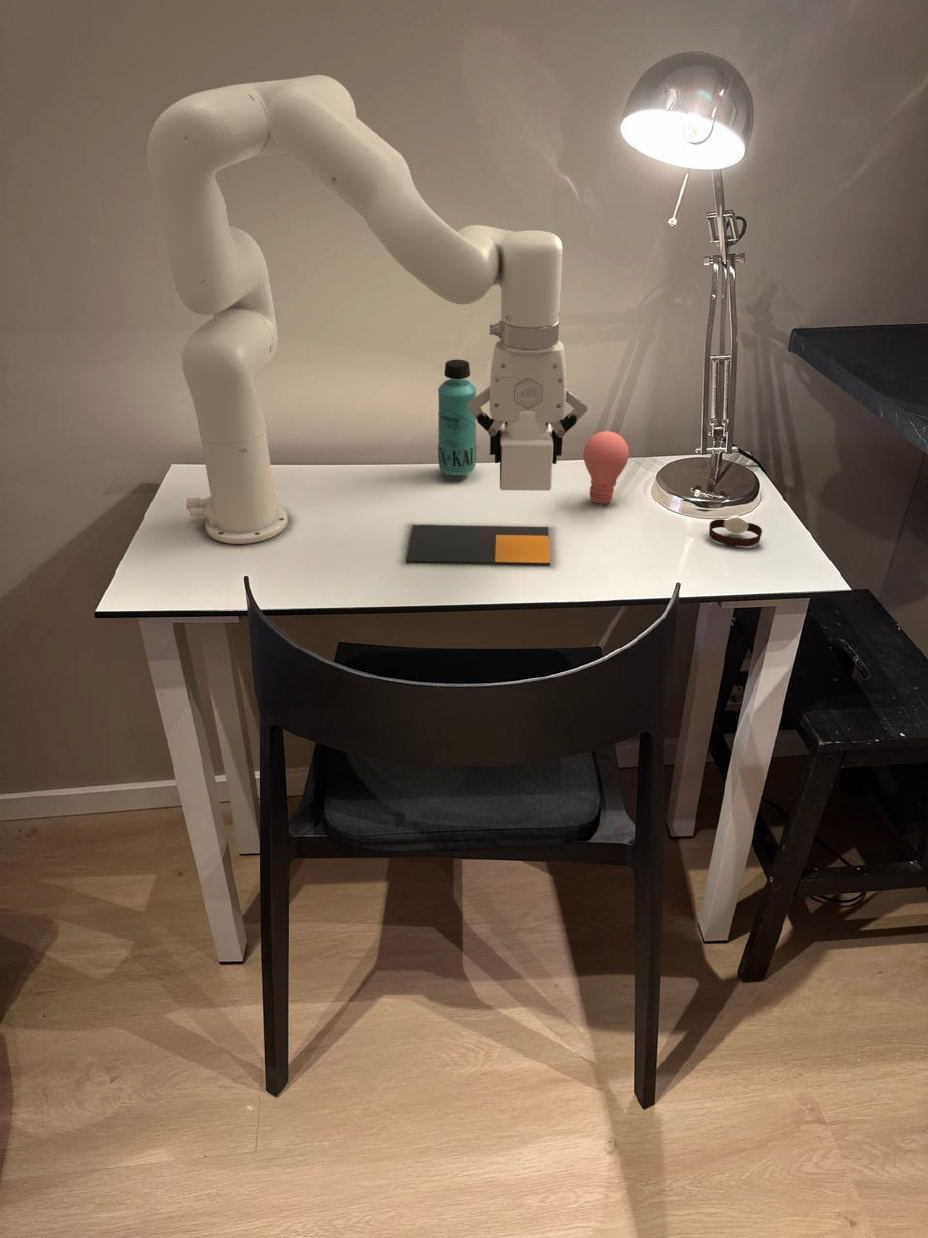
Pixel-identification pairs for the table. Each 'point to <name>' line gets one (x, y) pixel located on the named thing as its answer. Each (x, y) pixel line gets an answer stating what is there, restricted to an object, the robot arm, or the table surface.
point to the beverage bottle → (456, 421)
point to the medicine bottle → (526, 454)
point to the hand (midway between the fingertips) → (525, 458)
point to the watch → (735, 531)
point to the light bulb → (605, 463)
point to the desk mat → (479, 545)
